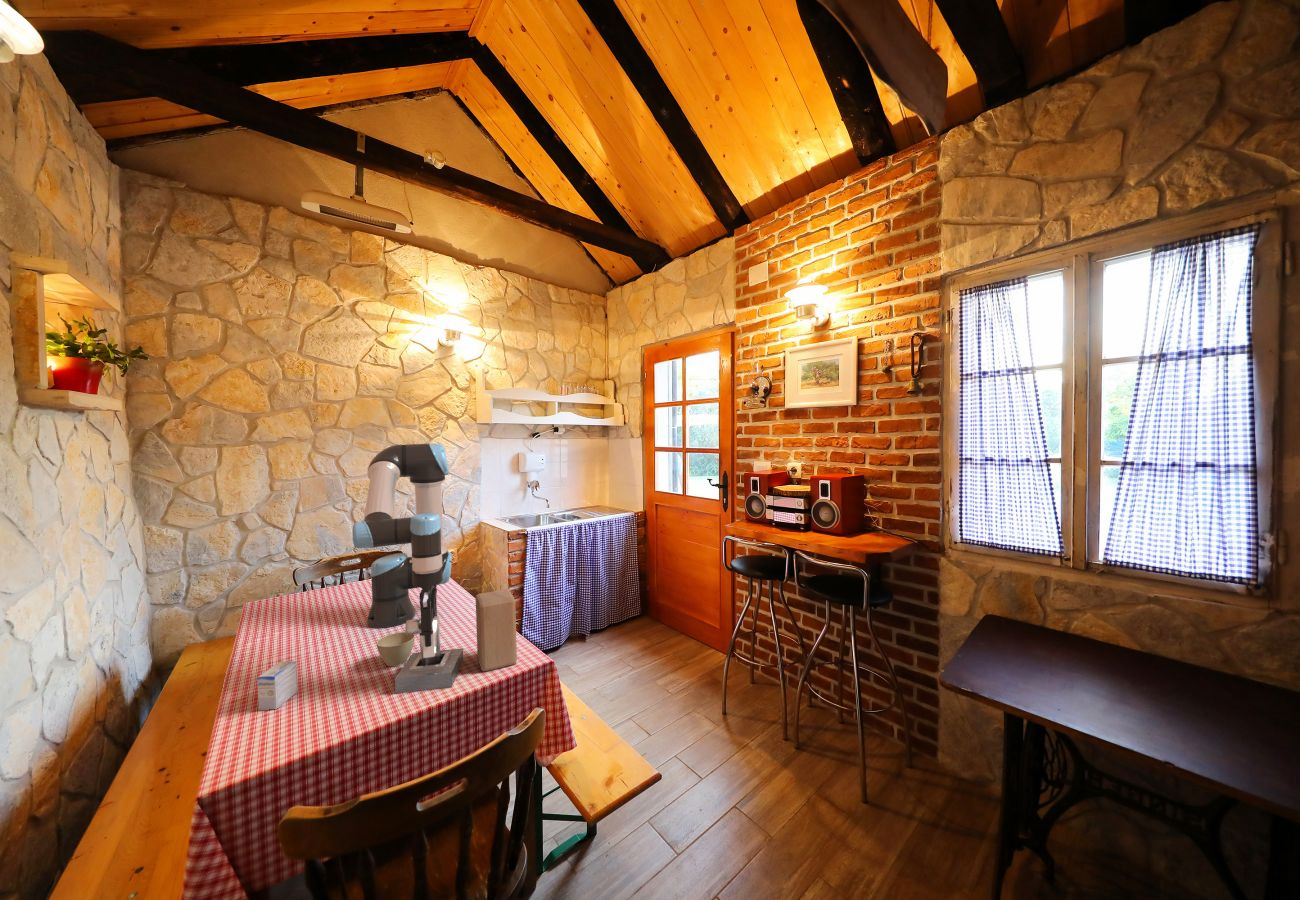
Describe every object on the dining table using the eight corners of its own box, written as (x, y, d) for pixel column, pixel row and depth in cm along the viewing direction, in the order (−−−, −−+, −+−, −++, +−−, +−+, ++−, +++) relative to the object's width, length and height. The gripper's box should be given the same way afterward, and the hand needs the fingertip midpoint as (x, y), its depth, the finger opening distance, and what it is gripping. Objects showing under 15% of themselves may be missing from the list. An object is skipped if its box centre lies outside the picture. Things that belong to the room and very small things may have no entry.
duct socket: (413, 666, 135) (412, 650, 134) (463, 661, 137) (462, 645, 137) (395, 693, 121) (394, 675, 121) (451, 687, 123) (451, 669, 123)
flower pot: (399, 672, 131) (398, 648, 131) (369, 669, 134) (368, 645, 133) (423, 655, 141) (422, 632, 141) (395, 652, 143) (394, 630, 143)
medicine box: (280, 693, 122) (279, 661, 122) (298, 691, 122) (297, 660, 122) (258, 711, 114) (256, 677, 114) (277, 709, 115) (275, 676, 114)
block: (481, 673, 130) (479, 604, 129) (477, 658, 139) (474, 593, 138) (517, 664, 135) (515, 597, 134) (511, 650, 144) (509, 587, 143)
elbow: (441, 655, 132) (439, 613, 131) (439, 664, 127) (437, 619, 127) (409, 660, 129) (408, 617, 129) (406, 669, 125) (404, 624, 124)
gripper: (417, 562, 135) (421, 640, 136) (406, 581, 118) (409, 670, 119) (445, 559, 137) (448, 636, 138) (438, 578, 120) (441, 665, 121)
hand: (430, 651), depth 129 cm, fingers closed on elbow, 5 cm apart
